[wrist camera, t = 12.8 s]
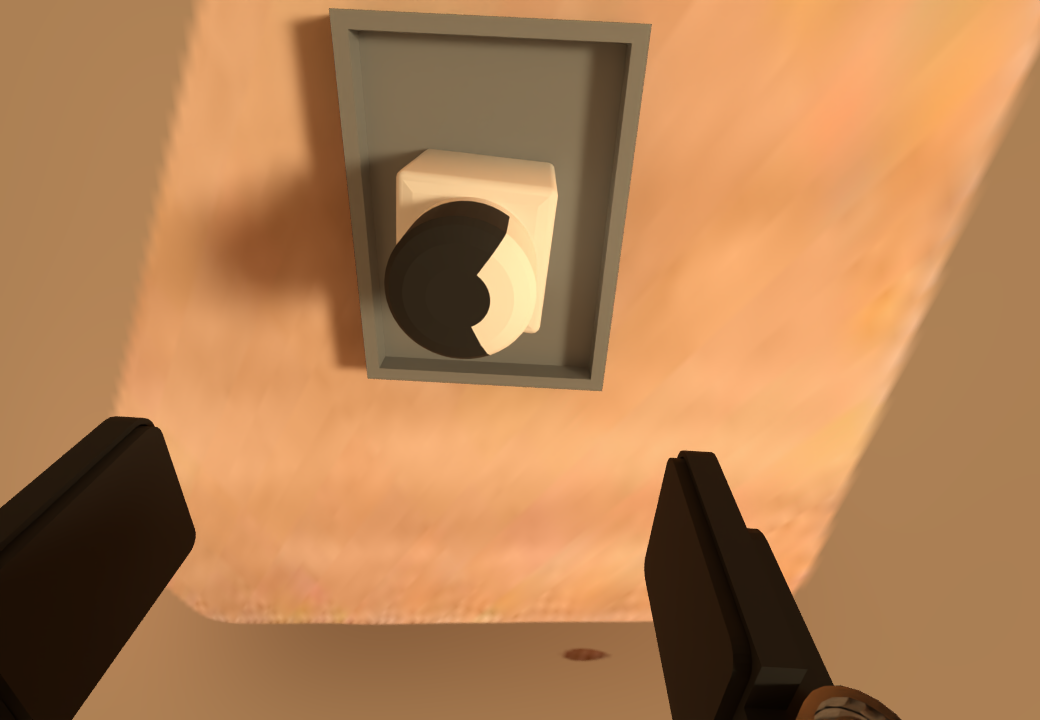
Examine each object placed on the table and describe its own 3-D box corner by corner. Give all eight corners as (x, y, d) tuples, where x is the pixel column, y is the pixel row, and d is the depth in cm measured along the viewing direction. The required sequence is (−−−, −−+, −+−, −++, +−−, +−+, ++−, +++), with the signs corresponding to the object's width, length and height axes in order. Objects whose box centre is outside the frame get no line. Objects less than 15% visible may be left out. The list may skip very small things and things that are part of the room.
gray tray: (345, 12, 28) (328, 8, 25) (643, 27, 27) (651, 24, 25) (377, 360, 37) (367, 378, 35) (598, 372, 37) (602, 391, 35)
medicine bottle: (422, 271, 33) (367, 369, 23) (424, 146, 30) (361, 194, 19) (539, 284, 33) (538, 388, 23) (555, 162, 30) (563, 217, 19)
